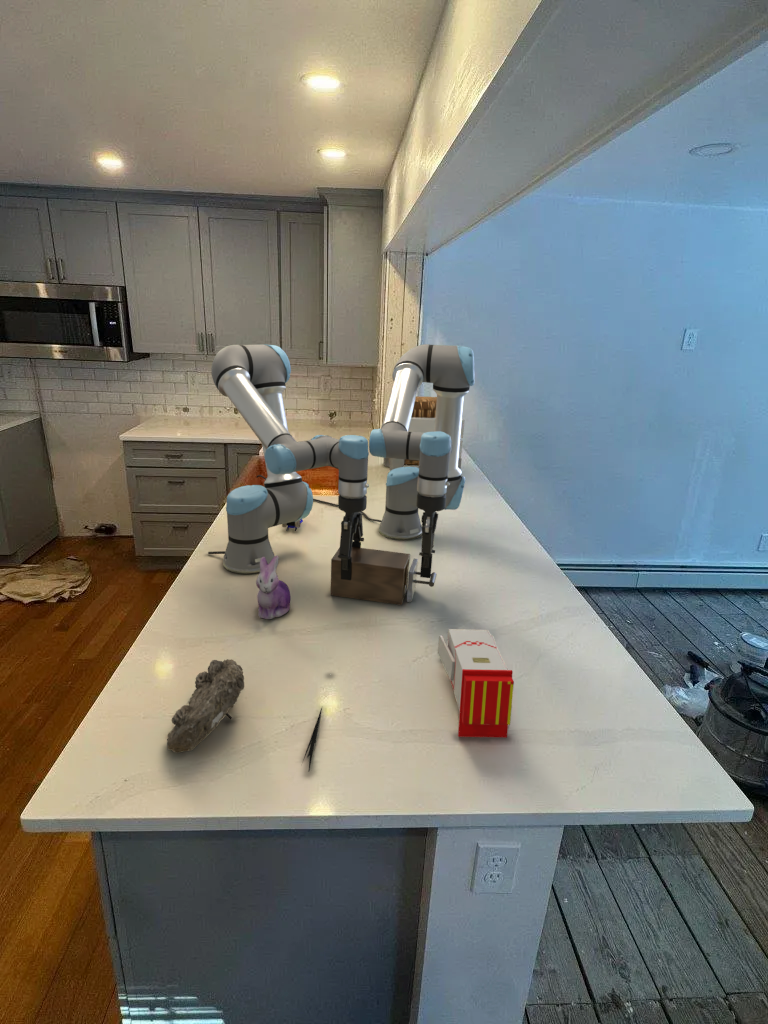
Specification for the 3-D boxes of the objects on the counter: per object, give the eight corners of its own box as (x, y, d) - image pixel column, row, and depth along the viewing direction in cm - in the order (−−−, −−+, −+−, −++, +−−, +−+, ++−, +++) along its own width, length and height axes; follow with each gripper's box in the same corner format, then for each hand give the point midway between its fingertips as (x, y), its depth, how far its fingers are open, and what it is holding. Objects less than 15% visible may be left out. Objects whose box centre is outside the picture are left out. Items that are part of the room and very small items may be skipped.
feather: (331, 679, 122) (336, 673, 122) (307, 777, 96) (313, 769, 95) (324, 675, 122) (329, 669, 121) (298, 772, 95) (304, 764, 95)
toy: (488, 613, 130) (523, 677, 101) (484, 667, 133) (517, 744, 104) (435, 612, 130) (455, 676, 101) (432, 666, 133) (451, 743, 103)
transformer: (382, 463, 289) (386, 382, 275) (445, 464, 293) (451, 384, 279) (390, 482, 257) (394, 392, 243) (460, 483, 261) (468, 394, 247)
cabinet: (407, 588, 161) (409, 553, 158) (401, 605, 152) (404, 568, 148) (340, 579, 165) (340, 545, 161) (330, 595, 155) (331, 559, 152)
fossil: (192, 660, 117) (244, 628, 112) (224, 691, 120) (276, 661, 115) (142, 746, 98) (202, 712, 93) (182, 779, 101) (242, 748, 96)
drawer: (435, 590, 159) (438, 561, 156) (431, 605, 151) (434, 574, 148) (351, 579, 163) (352, 550, 160) (343, 592, 155) (344, 563, 152)
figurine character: (300, 537, 196) (305, 517, 210) (300, 518, 193) (305, 499, 206) (281, 536, 196) (287, 517, 209) (280, 517, 193) (286, 498, 206)
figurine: (261, 624, 140) (259, 569, 134) (250, 605, 148) (248, 552, 143) (298, 616, 144) (297, 562, 139) (285, 598, 152) (284, 547, 147)
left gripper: (356, 509, 139) (354, 591, 146) (375, 484, 160) (372, 556, 167) (326, 506, 140) (326, 587, 147) (349, 481, 161) (347, 553, 168)
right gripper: (443, 502, 139) (436, 588, 146) (448, 487, 151) (441, 568, 159) (413, 499, 140) (408, 585, 148) (420, 484, 152) (415, 565, 160)
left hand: (350, 570), depth 157 cm, fingers closed on cabinet, 10 cm apart
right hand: (425, 576), depth 153 cm, fingers closed
